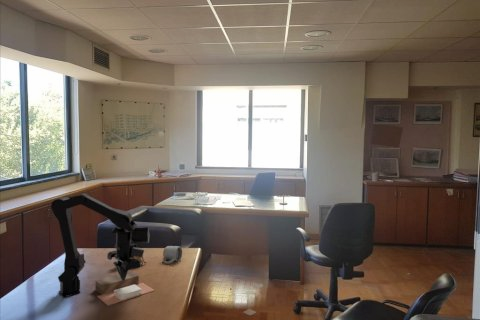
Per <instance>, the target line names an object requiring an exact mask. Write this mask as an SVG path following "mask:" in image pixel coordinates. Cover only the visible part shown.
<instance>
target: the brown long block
mask: <svg viewBox="0 0 480 320" xmlns="http://www.w3.org/2000/svg"><path fill="white" fill-rule="evenodd" d="M139 277H140V276H139V275H138V274H137V273H135V272H134V271H132V270H129V271H128V272H127V275H126V278H125V280H122V279H121V277H120V275H119V273H118V274H114V275H111V276H108V277H103V278H99V279H96V280H95V282H94V283H95V292H98V293H99V294H100V295H103V294H106V293H110V292H113V291H114V290H117V289H120V288H124V287H127V286H131V285H134V284H135V285H137V284H140V283H139V281H140V280H139V279H140V278H139Z"/></svg>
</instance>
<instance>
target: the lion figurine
mask: <svg viewBox="0 0 480 320" xmlns="http://www.w3.org/2000/svg"><path fill="white" fill-rule="evenodd" d="M134 258H135V259H137V260H139V261H140V262H141V267H143V266H144V264H147V262H146V261H145V259H144V255H143V256H142V258H141V257H138V256H134ZM130 259H133V258H130Z"/></svg>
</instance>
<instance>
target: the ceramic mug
mask: <svg viewBox="0 0 480 320" xmlns="http://www.w3.org/2000/svg"><path fill="white" fill-rule="evenodd" d="M162 252H163V253H162V256H163V258H162V262H163V263H164V264H166V265H169V264H172V263H174V262H180V261H181V259H182V256H183V248H182V247H181V246H179V245H178V246H177V245H174V246H173V245H167V246H166V247H164V249H163V251H162Z"/></svg>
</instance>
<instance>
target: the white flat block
mask: <svg viewBox="0 0 480 320" xmlns="http://www.w3.org/2000/svg"><path fill="white" fill-rule="evenodd" d="M139 294H142V289H141V288H140V287H138V286H137V285H135V284H134V285H131V286H127V287H124V288H120V289H117V290H114V295H115V296H116V297H117V298H118V299H120V300H123V299H126V298H129V297H133V296H136V295H139Z"/></svg>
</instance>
